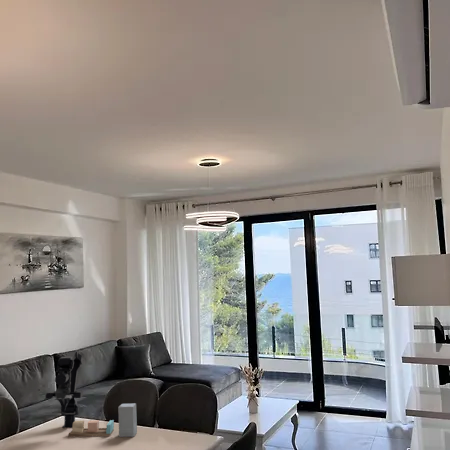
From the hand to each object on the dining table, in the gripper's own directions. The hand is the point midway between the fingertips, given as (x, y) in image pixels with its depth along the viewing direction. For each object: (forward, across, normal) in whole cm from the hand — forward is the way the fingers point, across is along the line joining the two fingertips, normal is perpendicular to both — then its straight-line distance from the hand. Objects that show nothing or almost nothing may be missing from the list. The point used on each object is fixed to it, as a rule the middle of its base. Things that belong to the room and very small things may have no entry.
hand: (63, 411), depth 249 cm
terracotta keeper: (+11, +16, 0) cm, 19 cm away
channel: (+12, +15, 0) cm, 19 cm away
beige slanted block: (+11, +8, 0) cm, 13 cm away
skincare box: (+12, +35, -4) cm, 37 cm away
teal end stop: (+11, +25, 0) cm, 27 cm away
